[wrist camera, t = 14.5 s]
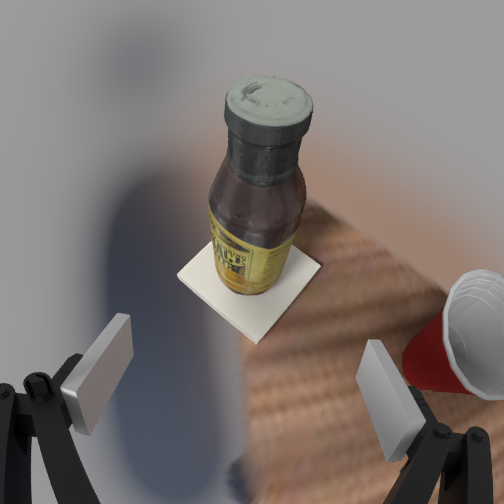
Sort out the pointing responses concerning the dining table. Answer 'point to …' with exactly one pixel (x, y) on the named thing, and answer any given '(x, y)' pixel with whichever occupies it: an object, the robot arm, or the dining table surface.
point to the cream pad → (250, 307)
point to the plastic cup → (463, 341)
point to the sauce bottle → (259, 182)
